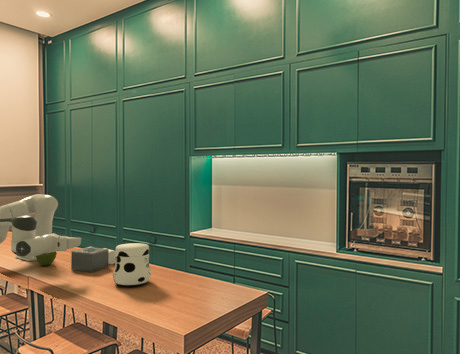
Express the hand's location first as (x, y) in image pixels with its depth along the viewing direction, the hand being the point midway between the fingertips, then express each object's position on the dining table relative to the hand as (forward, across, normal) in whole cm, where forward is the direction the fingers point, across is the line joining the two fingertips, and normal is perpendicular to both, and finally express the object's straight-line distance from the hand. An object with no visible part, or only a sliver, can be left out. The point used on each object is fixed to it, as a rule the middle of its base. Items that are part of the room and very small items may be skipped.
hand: (73, 238), depth 188 cm
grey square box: (+13, 0, -19) cm, 23 cm away
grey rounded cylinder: (+13, 0, -18) cm, 22 cm away
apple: (+8, -27, -19) cm, 34 cm away
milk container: (-1, +38, -18) cm, 42 cm away
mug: (+29, +1, -19) cm, 35 cm away
